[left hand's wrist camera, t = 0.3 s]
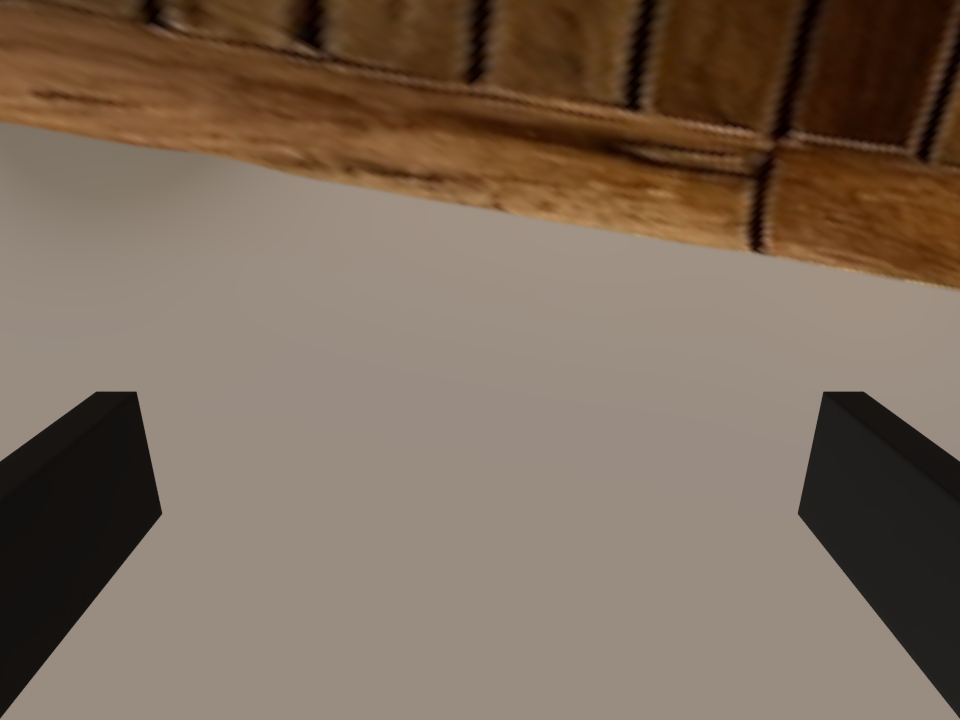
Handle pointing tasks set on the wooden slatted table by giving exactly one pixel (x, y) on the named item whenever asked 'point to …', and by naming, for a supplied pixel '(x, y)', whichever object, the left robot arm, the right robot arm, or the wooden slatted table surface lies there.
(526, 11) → the wooden slatted table surface
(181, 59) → the wooden slatted table surface
